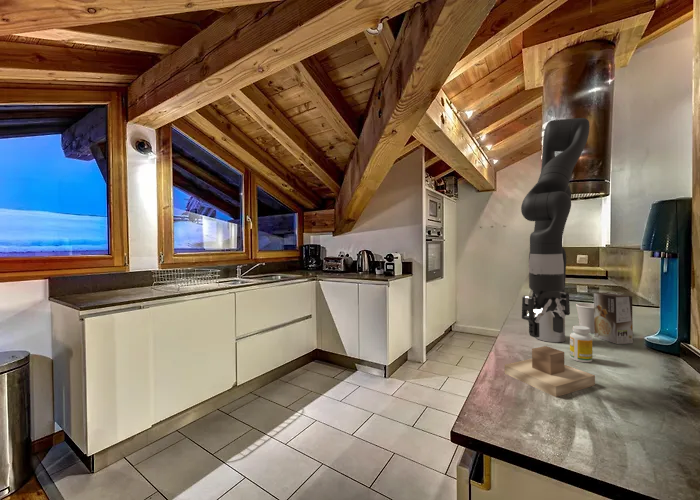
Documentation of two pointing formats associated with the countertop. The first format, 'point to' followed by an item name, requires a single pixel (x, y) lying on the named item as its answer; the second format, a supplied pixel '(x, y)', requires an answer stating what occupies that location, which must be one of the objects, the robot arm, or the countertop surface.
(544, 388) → the maple block
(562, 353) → the walnut cube
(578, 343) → the supplement bottle
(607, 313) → the coffee box
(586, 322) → the dixie cup
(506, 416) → the countertop surface
